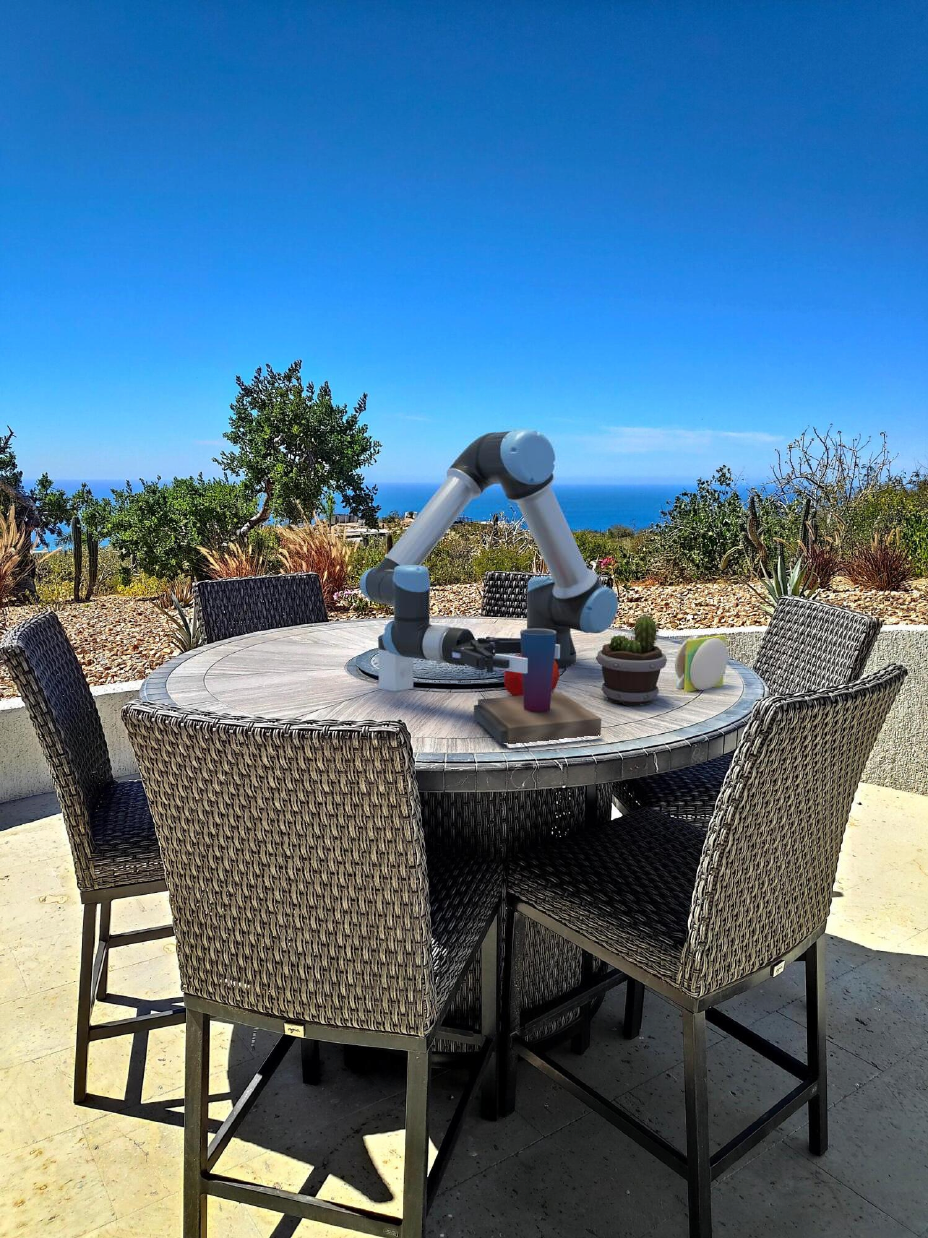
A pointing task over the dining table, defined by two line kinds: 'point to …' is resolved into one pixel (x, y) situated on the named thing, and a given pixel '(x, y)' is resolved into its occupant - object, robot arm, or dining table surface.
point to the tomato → (515, 680)
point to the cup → (538, 667)
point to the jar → (394, 670)
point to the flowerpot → (632, 665)
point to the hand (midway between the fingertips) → (543, 658)
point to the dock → (536, 720)
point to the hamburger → (701, 663)
